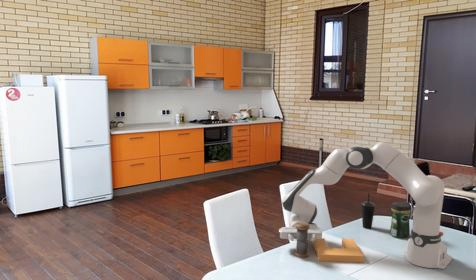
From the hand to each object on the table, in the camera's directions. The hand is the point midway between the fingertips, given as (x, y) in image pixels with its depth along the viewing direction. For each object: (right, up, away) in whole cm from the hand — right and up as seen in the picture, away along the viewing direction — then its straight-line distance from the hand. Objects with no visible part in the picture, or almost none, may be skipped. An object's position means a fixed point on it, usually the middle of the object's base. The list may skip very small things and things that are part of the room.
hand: (302, 239), depth 181 cm
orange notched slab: (+17, -7, +5) cm, 20 cm away
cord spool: (0, -8, +2) cm, 8 cm away
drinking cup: (+44, -3, +40) cm, 59 cm away
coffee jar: (+57, -5, +27) cm, 63 cm away
